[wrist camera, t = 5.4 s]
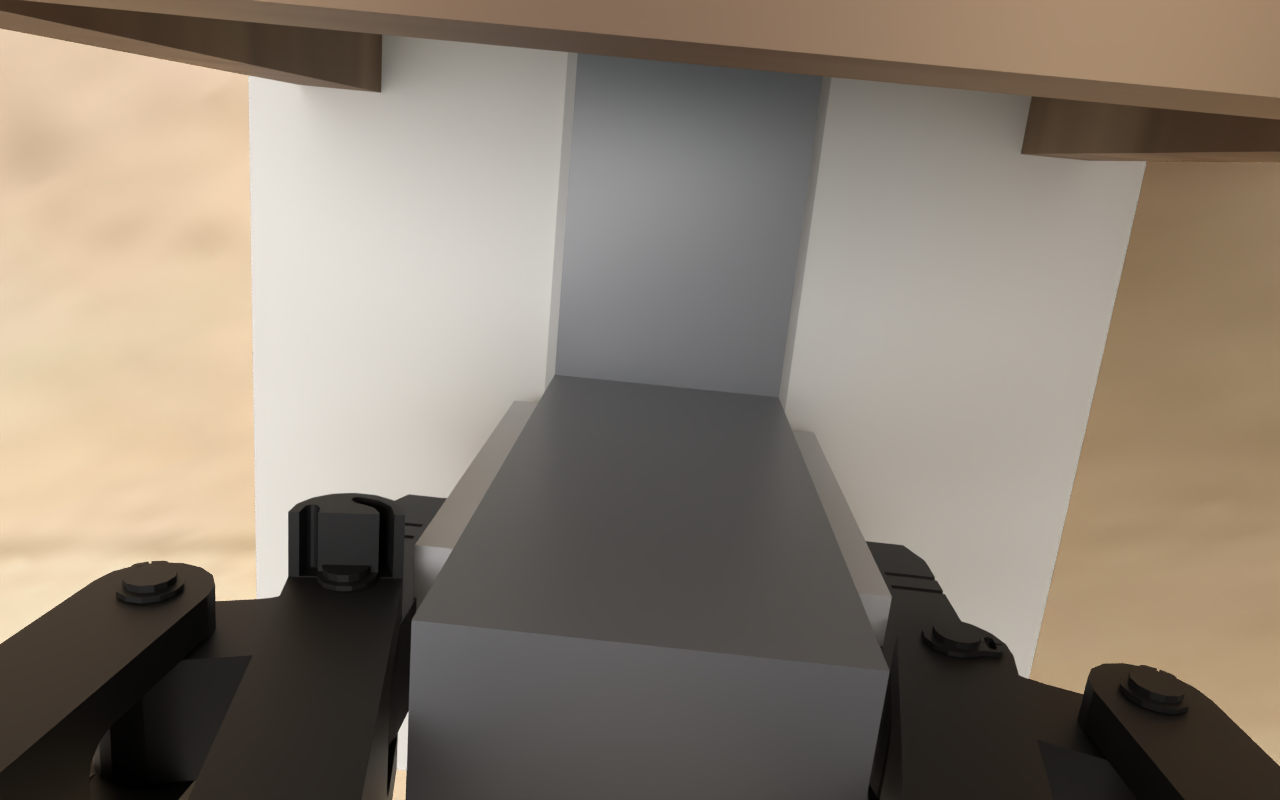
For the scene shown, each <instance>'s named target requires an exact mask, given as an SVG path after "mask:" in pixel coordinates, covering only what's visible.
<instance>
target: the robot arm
mask: <svg viewBox="0 0 1280 800" xmlns="http://www.w3.org/2000/svg"><path fill="white" fill-rule="evenodd" d="M537 404H538V403H533V402H523V401H514V402H513V403H512V405H511V406H510V408H509V409H508V411H507V412H506V413H505V415H504V416H503V418H502V419H501V421H500V422H499V424H498V425H497V427H496V428H495V429H494V431H493V432H492V434H491V435H490V437H489V438H488V440H487V441H486V442H485V444H484V445H483V447H482V448H481V450H480V451H479V453H478V454H477V456H476V457H475V458H474V460H473V461H472V463H471V464H470V466H469V467H468V469H467V470H466V471H465V473H464V474H463V476H462V477H461V479H460V480H459V482H458V483H457V485H456V486H455V487H454V489H453V490H452V492H451V493H450V495H449V496H448V498H439V497H430V496H420V495H411V494H408V495H406V496H404V497H402V498H399V499H397V500H395V501H393V500H391V499H388V498H384V497H381V496H377V495H371V494H361V493H337V494H329V495H323V496H318V497H313V498H310V499H308V500H305V501H303V502H300V503H297V504H296V505H295V506H294V507H293V508H292V509H291V510H290V511H288V578H287V581H286V583H285V585H284V587H283V589H282V592H281V594H280V596H277V597H273V598H263V599H254V600H235V601H215V583H214V579H213V575H212V574H210V573H209V572H207V571H206V570H204V569H203V568H201V567H197V566H192V565H188V564H184V563H168V562H167V561H152V564H149V562H144V563H137V564H134V565H132V566H131V567H128V568H124V569H121V570H117V571H113V572H111V573H109V574H107V575H105V576H103V577H101V578H99V579H97V580H95V581H93V582H92V583H90V584H89V585H87V586H86V587H84V588H83V589H81V590H80V591H78V592H77V593H75V594H74V595H72V596H71V597H69V598H68V599H66V600H65V601H64V602H62V603H61V604H59V605H58V606H56V607H55V608H53V609H52V610H50V611H49V612H47V613H46V614H44V615H43V616H41V617H40V618H38V619H37V620H35V621H34V622H32V623H31V624H29V625H28V626H27V627H25V628H24V629H22V630H21V631H19V632H18V633H16V634H15V635H13V636H12V637H10V638H9V639H7V640H6V641H4V642H3V643H1V644H0V800H392V796H393V789H394V782H395V775H396V768H397V745H398V731H399V729H400V727H401V725H402V723H403V721H404V719H405V717H406V715H407V713H408V711H409V684H410V653H411V622H412V619H413V617H414V615H415V613H416V612H417V610H418V608H419V607H420V605H421V603H422V601H423V600H424V598H425V596H426V595H427V593H428V591H429V589H430V588H431V586H432V584H433V583H434V581H435V579H436V577H437V576H438V574H439V572H440V571H441V569H442V567H443V565H444V564H445V562H446V560H447V559H448V557H449V555H450V553H451V552H452V550H453V548H454V547H455V545H456V543H457V541H458V540H459V538H460V536H461V535H462V533H463V531H464V529H465V528H466V526H467V524H468V523H469V521H470V519H471V517H472V516H473V514H474V512H475V511H476V509H477V507H478V505H479V504H480V502H481V500H482V499H483V497H484V495H485V493H486V492H487V490H488V488H489V487H490V485H491V483H492V481H493V480H494V478H495V476H496V475H497V473H498V471H499V469H500V468H501V466H502V464H503V463H504V461H505V459H506V457H507V456H508V454H509V452H510V451H511V449H512V447H513V445H514V444H515V442H516V440H517V439H518V437H519V435H520V433H521V432H522V430H523V428H524V427H525V425H526V423H527V421H528V420H529V418H530V416H531V415H532V413H533V411H534V409H535V408H536V406H537ZM792 431H793V434H794V436H795V439H796V441H797V444H798V446H799V449H800V451H801V454H802V456H803V458H804V461H805V463H806V466H807V468H808V471H809V473H810V476H811V478H812V481H813V483H814V486H815V488H816V491H817V493H818V495H819V498H820V500H821V503H822V505H823V508H824V510H825V513H826V515H827V518H828V520H829V523H830V525H831V528H832V530H833V532H834V535H835V537H836V540H837V542H838V545H839V547H840V550H841V552H842V555H843V557H844V560H845V562H846V565H847V567H848V569H849V572H850V574H851V577H852V579H853V582H854V584H855V587H856V589H857V592H858V594H859V597H860V599H861V602H862V604H863V606H864V609H865V611H866V614H867V616H868V619H869V621H870V624H871V626H872V629H873V631H874V634H875V636H876V639H877V641H878V643H879V646H880V648H881V651H882V653H883V656H884V658H885V661H886V663H887V666H888V668H889V671H890V672H889V678H888V683H887V689H886V694H885V699H884V705H883V710H882V716H881V721H880V727H879V732H878V738H877V743H876V748H875V754H874V759H873V765H872V770H871V776H870V781H869V786H868V792H867V797H866V800H1280V766H1279V765H1278V764H1277V763H1276V762H1275V761H1274V760H1273V759H1272V758H1271V757H1269V756H1268V755H1267V754H1266V753H1265V752H1264V751H1263V750H1262V749H1261V748H1260V747H1259V746H1258V745H1257V744H1256V743H1255V742H1254V741H1253V740H1252V739H1251V738H1250V737H1249V736H1248V735H1247V734H1246V733H1245V732H1244V731H1243V730H1242V729H1241V728H1240V727H1239V726H1238V725H1237V724H1236V723H1235V722H1233V721H1232V720H1231V719H1230V718H1229V717H1228V716H1227V715H1226V714H1225V713H1224V712H1223V711H1222V710H1221V709H1220V708H1219V707H1218V706H1217V705H1216V704H1215V703H1214V702H1213V701H1212V700H1210V699H1209V698H1208V697H1206V696H1205V695H1204V694H1202V693H1201V692H1200V691H1198V690H1197V689H1196V688H1194V687H1192V686H1190V685H1188V684H1186V683H1184V682H1182V681H1181V680H1179V679H1177V678H1176V677H1175V676H1174V675H1172V674H1170V673H1167V672H1165V671H1162V670H1160V671H1159V672H1158V671H1156V670H1157V669H1156V668H1152V667H1149V666H1145V665H1140V666H1135V665H1129V664H1124V663H1117V664H1102V665H1100V666H1097V667H1095V668H1092V669H1091V671H1090V674H1089V676H1088V679H1087V683H1086V687H1085V691H1084V695H1083V694H1079V693H1076V692H1072V691H1068V690H1065V689H1061V688H1057V687H1054V686H1050V685H1046V684H1043V683H1040V682H1037V681H1034V680H1031V679H1028V678H1025V677H1022V676H1020V675H1019V674H1018V670H1017V667H1016V663H1015V659H1014V656H1013V654H1012V653H1011V651H1010V650H1009V648H1008V646H1007V645H1006V644H1005V643H1004V642H1002V641H1001V640H1000V639H998V638H997V637H996V636H994V635H993V634H991V633H989V632H987V631H985V630H983V629H981V628H979V627H976V626H974V625H972V624H969V623H965V622H961V620H960V618H959V617H958V615H957V613H956V612H955V610H954V608H953V607H952V605H951V603H950V602H949V600H948V598H947V597H946V595H945V594H943V590H942V588H941V587H940V585H939V583H938V582H937V581H936V580H935V577H934V575H933V573H932V572H931V570H930V568H929V566H928V565H927V563H926V561H925V560H923V559H922V558H920V557H919V556H918V555H916V554H915V553H913V552H912V551H911V550H909V549H908V548H906V547H905V546H904V545H897V544H887V543H878V542H869V541H865V539H864V537H863V535H862V533H861V531H860V529H859V526H858V524H857V522H856V520H855V518H854V516H853V514H852V512H851V510H850V507H849V505H848V503H847V501H846V499H845V497H844V495H843V493H842V491H841V488H840V486H839V484H838V482H837V480H836V478H835V476H834V474H833V472H832V469H831V467H830V465H829V463H828V461H827V459H826V457H825V455H824V453H823V450H822V448H821V446H820V444H819V442H818V440H817V438H816V436H815V434H814V432H806V431H797V430H792Z"/></svg>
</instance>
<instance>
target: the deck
mask: <svg viewBox="0 0 1280 800" xmlns="http://www.w3.org/2000/svg"><path fill="white" fill-rule="evenodd" d="M577 56H578V53H572V52H561V51H551V50H540V49H530V48H519V47H509V46H498V45H487V44H477V43H466V42H456V41H445V40H435V39H424V38H414V37H403V36H393V35H382V75H381V93H379V92H369V91H358V90H348V89H337V88H327V87H316V86H306V85H297V84H292V83H286V82H281V81H276V80H271V79H265V78H260V77H255V76H249V75H248V76H249V139H250V203H251V267H252V330H253V394H254V457H255V521H256V584H257V599H263V598H273V597H277V596H280V594H281V592H282V589H283V587H284V585H285V583H286V581H287V578H288V511H290V510H291V509H292V508H293V507H294V506H295V505H296V504H297V503H300V502H303V501H305V500H308V499H310V498H313V497H318V496H323V495H329V494H337V493H361V494H371V495H377V496H381V497H384V498H388V499H391V500H393V501H395V500H397V499H399V498H402V497H404V496H406V495H408V494H411V495H420V496H430V497H439V498H448V496H449V495H450V493H451V492H452V490H453V489H454V487H455V486H456V485H457V483H458V482H459V480H460V479H461V477H462V476H463V474H464V473H465V471H466V470H467V469H468V467H469V466H470V464H471V463H472V461H473V460H474V458H475V457H476V456H477V454H478V453H479V451H480V450H481V448H482V447H483V445H484V444H485V442H486V441H487V440H488V438H489V437H490V435H491V434H492V432H493V431H494V429H495V428H496V427H497V425H498V424H499V422H500V421H501V419H502V418H503V416H504V415H505V413H506V412H507V411H508V409H509V408H510V406H511V405H512V403H513V402H514V401H523V402H533V403H539V401H540V399H541V397H542V396H543V394H544V392H545V391H546V389H547V387H548V385H549V384H550V382H551V380H552V379H553V377H554V375H555V364H556V350H557V336H558V322H559V308H560V294H561V280H562V266H563V252H564V238H565V224H566V210H567V196H568V182H569V168H570V154H571V140H572V126H573V112H574V98H575V84H576V70H577ZM1031 98H1032V96H1025V95H1015V94H1004V93H994V92H983V91H972V90H962V89H951V88H941V87H930V86H920V85H909V84H899V83H888V82H878V81H867V80H856V79H846V78H835V77H825V76H823V78H822V85H821V93H820V100H819V107H818V115H817V122H816V129H815V137H814V144H813V151H812V158H811V166H810V173H809V180H808V188H807V195H806V202H805V210H804V217H803V224H802V231H801V239H800V246H799V253H798V261H797V268H796V275H795V283H794V290H793V297H792V304H791V312H790V319H789V326H788V334H787V341H786V348H785V356H784V363H783V370H782V377H781V385H780V392H779V399H780V402H781V404H782V407H783V409H784V412H785V414H786V417H787V419H788V421H789V424H790V426H791V429H792V430H797V431H806V432H814V434H815V436H816V438H817V440H818V442H819V444H820V446H821V448H822V450H823V453H824V455H825V457H826V459H827V461H828V463H829V465H830V467H831V469H832V472H833V474H834V476H835V478H836V480H837V482H838V484H839V486H840V488H841V491H842V493H843V495H844V497H845V499H846V501H847V503H848V505H849V507H850V510H851V512H852V514H853V516H854V518H855V520H856V522H857V524H858V526H859V529H860V531H861V533H862V535H863V537H864V539H865V541H869V542H878V543H887V544H897V545H904V546H905V547H906V548H908V549H909V550H911V551H912V552H913V553H915V554H916V555H918V556H919V557H920V558H922V559H923V560H925V561H926V563H927V565H928V566H929V568H930V570H931V572H932V573H933V575H934V577H935V580H936V581H937V582H938V583H939V585H940V587H941V588H942V590H943V594H945V595H946V597H947V598H948V600H949V602H950V603H951V605H952V607H953V608H954V610H955V612H956V613H957V615H958V617H959V618H960V620H961V622H965V623H969V624H972V625H974V626H976V627H979V628H981V629H983V630H985V631H987V632H989V633H991V634H993V635H994V636H996V637H997V638H998V639H1000V640H1001V641H1002V642H1004V643H1005V644H1006V645H1007V646H1008V648H1009V650H1010V651H1011V653H1012V654H1013V656H1014V659H1015V663H1016V667H1017V670H1018V674H1019V675H1020V676H1022V677H1025V678H1028V679H1029V676H1030V671H1031V667H1032V663H1033V658H1034V654H1035V650H1036V645H1037V641H1038V636H1039V632H1040V628H1041V623H1042V619H1043V615H1044V610H1045V606H1046V601H1047V597H1048V593H1049V588H1050V584H1051V579H1052V575H1053V571H1054V566H1055V562H1056V558H1057V553H1058V549H1059V544H1060V540H1061V536H1062V531H1063V527H1064V523H1065V518H1066V514H1067V509H1068V505H1069V501H1070V496H1071V492H1072V488H1073V483H1074V479H1075V474H1076V470H1077V466H1078V461H1079V457H1080V453H1081V448H1082V444H1083V439H1084V435H1085V431H1086V426H1087V422H1088V418H1089V413H1090V409H1091V404H1092V400H1093V396H1094V391H1095V387H1096V382H1097V378H1098V374H1099V369H1100V365H1101V361H1102V356H1103V352H1104V347H1105V343H1106V339H1107V334H1108V330H1109V326H1110V321H1111V317H1112V312H1113V308H1114V304H1115V299H1116V295H1117V291H1118V286H1119V282H1120V277H1121V273H1122V269H1123V264H1124V260H1125V256H1126V251H1127V247H1128V242H1129V238H1130V234H1131V229H1132V225H1133V221H1134V216H1135V212H1136V207H1137V203H1138V199H1139V194H1140V190H1141V185H1142V181H1143V177H1144V172H1145V168H1146V164H1147V161H1087V160H1077V159H1066V158H1056V157H1046V156H1035V155H1025V154H1021V150H1022V144H1023V139H1024V134H1025V129H1026V124H1027V119H1028V113H1029V108H1030V103H1031ZM408 715H409V711H408V713H407V715H406V717H405V719H404V721H403V723H402V725H401V727H400V729H399V731H398V745H397V768H396V769H400V770H407V746H408Z"/></svg>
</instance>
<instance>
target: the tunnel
mask: <svg viewBox="0 0 1280 800" xmlns="http://www.w3.org/2000/svg"><path fill="white" fill-rule="evenodd" d="M0 28H2V29H7V30H12V31H17V32H23V33H28V34H33V35H39V36H44V37H49V38H54V39H60V40H65V41H70V42H75V43H81V44H86V45H91V46H97V47H102V48H107V49H112V50H118V51H123V52H128V53H133V54H139V55H144V56H149V57H155V58H160V59H165V60H170V61H176V62H181V63H186V64H191V65H197V66H202V67H207V68H213V69H218V70H223V71H228V72H234V73H239V74H244V75H249V76H255V77H260V78H265V79H271V80H276V81H281V82H286V83H292V84H297V85H306V86H316V87H327V88H337V89H348V90H358V91H369V92H379V93H381V75H382V35H393V36H403V37H414V38H424V39H435V40H445V41H456V42H466V43H477V44H487V45H498V46H509V47H519V48H530V49H540V50H551V51H561V52H572V53H582V54H593V55H603V56H614V57H625V58H635V59H646V60H656V61H667V62H677V63H688V64H698V65H709V66H719V67H730V68H740V69H751V70H762V71H772V72H783V73H793V74H804V75H814V76H825V77H835V78H846V79H856V80H867V81H878V82H888V83H899V84H909V85H920V86H930V87H941V88H951V89H962V90H972V91H983V92H994V93H1004V94H1015V95H1025V96H1032V98H1031V103H1030V108H1029V113H1028V119H1027V124H1026V129H1025V134H1024V139H1023V144H1022V150H1021V154H1025V155H1035V156H1046V157H1056V158H1066V159H1077V160H1087V161H1193V162H1280V0H0Z"/></svg>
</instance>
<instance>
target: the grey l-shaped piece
mask: <svg viewBox="0 0 1280 800" xmlns="http://www.w3.org/2000/svg"><path fill="white" fill-rule="evenodd" d="M822 78H823V76H814V75H804V74H793V73H783V72H772V71H762V70H751V69H740V68H730V67H719V66H709V65H698V64H688V63H677V62H667V61H656V60H646V59H635V58H625V57H614V56H603V55H593V54H582V53H578V56H577V70H576V84H575V98H574V112H573V126H572V140H571V154H570V168H569V182H568V196H567V210H566V224H565V238H564V252H563V266H562V280H561V294H560V308H559V322H558V336H557V350H556V364H555V375H554V377H553V379H552V380H551V382H550V384H549V385H548V387H547V389H546V391H545V392H544V394H543V396H542V397H541V399H540V401H539V403H538V404H537V406H536V408H535V409H534V411H533V413H532V415H531V416H530V418H529V420H528V421H527V423H526V425H525V427H524V428H523V430H522V432H521V433H520V435H519V437H518V439H517V440H516V442H515V444H514V445H513V447H512V449H511V451H510V452H509V454H508V456H507V457H506V459H505V461H504V463H503V464H502V466H501V468H500V469H499V471H498V473H497V475H496V476H495V478H494V480H493V481H492V483H491V485H490V487H489V488H488V490H487V492H486V493H485V495H484V497H483V499H482V500H481V502H480V504H479V505H478V507H477V509H476V511H475V512H474V514H473V516H472V517H471V519H470V521H469V523H468V524H467V526H466V528H465V529H464V531H463V533H462V535H461V536H460V538H459V540H458V541H457V543H456V545H455V547H454V548H453V550H452V552H451V553H450V555H449V557H448V559H447V560H446V562H445V564H444V565H443V567H442V569H441V571H440V572H439V574H438V576H437V577H436V579H435V581H434V583H433V584H432V586H431V588H430V589H429V591H428V593H427V595H426V596H425V598H424V600H423V601H422V603H421V605H420V607H419V608H418V610H417V612H416V613H415V615H414V617H413V619H412V622H411V653H410V684H409V715H408V746H407V777H406V800H866V797H867V792H868V786H869V781H870V776H871V770H872V765H873V759H874V754H875V748H876V743H877V738H878V732H879V727H880V721H881V716H882V710H883V705H884V699H885V694H886V689H887V683H888V678H889V672H890V671H889V668H888V666H887V663H886V661H885V658H884V656H883V653H882V651H881V648H880V646H879V643H878V641H877V639H876V636H875V634H874V631H873V629H872V626H871V624H870V621H869V619H868V616H867V614H866V611H865V609H864V606H863V604H862V602H861V599H860V597H859V594H858V592H857V589H856V587H855V584H854V582H853V579H852V577H851V574H850V572H849V569H848V567H847V565H846V562H845V560H844V557H843V555H842V552H841V550H840V547H839V545H838V542H837V540H836V537H835V535H834V532H833V530H832V528H831V525H830V523H829V520H828V518H827V515H826V513H825V510H824V508H823V505H822V503H821V500H820V498H819V495H818V493H817V491H816V488H815V486H814V483H813V481H812V478H811V476H810V473H809V471H808V468H807V466H806V463H805V461H804V458H803V456H802V454H801V451H800V449H799V446H798V444H797V441H796V439H795V436H794V434H793V431H792V429H791V426H790V424H789V421H788V419H787V417H786V414H785V412H784V409H783V407H782V404H781V402H780V399H779V392H780V385H781V377H782V370H783V363H784V356H785V348H786V341H787V334H788V326H789V319H790V312H791V304H792V297H793V290H794V283H795V275H796V268H797V261H798V253H799V246H800V239H801V231H802V224H803V217H804V210H805V202H806V195H807V188H808V180H809V173H810V166H811V158H812V151H813V144H814V137H815V129H816V122H817V115H818V107H819V100H820V93H821V85H822Z"/></svg>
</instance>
